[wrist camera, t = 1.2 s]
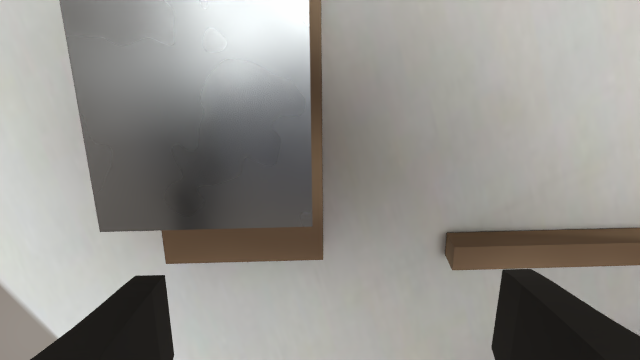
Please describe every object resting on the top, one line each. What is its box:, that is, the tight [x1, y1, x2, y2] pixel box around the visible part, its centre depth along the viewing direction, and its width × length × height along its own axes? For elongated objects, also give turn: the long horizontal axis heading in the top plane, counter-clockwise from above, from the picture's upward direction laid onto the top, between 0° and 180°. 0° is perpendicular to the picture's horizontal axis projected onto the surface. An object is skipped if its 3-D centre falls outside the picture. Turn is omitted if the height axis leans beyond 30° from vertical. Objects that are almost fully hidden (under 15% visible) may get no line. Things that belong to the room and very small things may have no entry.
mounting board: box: [162, 0, 323, 264], centre depth 20 cm, size 14×6×1 cm, turn 0°
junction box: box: [60, 0, 313, 232], centre depth 15 cm, size 7×5×7 cm
